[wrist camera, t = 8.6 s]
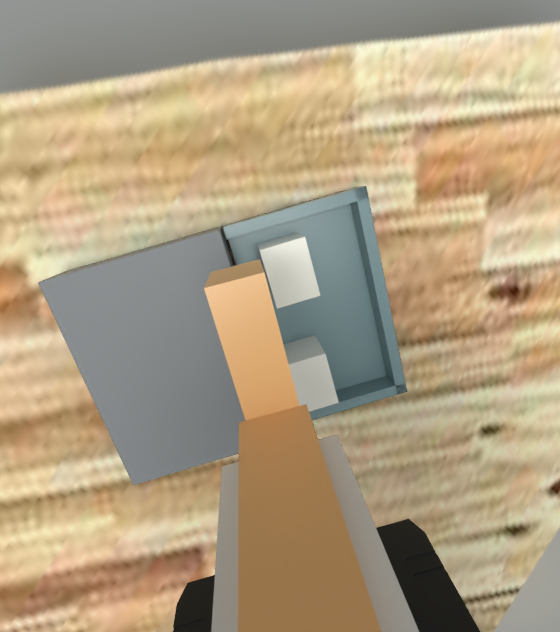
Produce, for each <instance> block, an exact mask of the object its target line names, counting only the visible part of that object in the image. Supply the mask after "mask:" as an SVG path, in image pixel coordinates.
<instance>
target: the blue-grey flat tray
mask: <svg viewBox="0 0 560 632" xmlns="http://www.w3.org/2000/svg"><path fill="white" fill-rule="evenodd" d="M223 229H224V233H225V236H226V239H228V240H229V243H230V247H231V250H232V253H233V256H234V259H235V263H236V265H240V264H243V263H247V262H251V261H255V260H259V259H260V261H261V264H262V267H263V270H264V273H265V277H266V280H267V284H268V288H269V292H270V295H271V299H272V303H273V307H274V311H275V314H276V318H277V322H278V326H279V330H280V333H281V337H282V341H283V344H286V343H290V342H293V341H296V340H300V339H303V338H306V337H309V336H313V335H315V336H316V338H317V339H318V341H319V343H320V345H321V346H322V348H323V350H324V352H325V354H326V357H327V361H328V365H329V368H330V372H331V376H332V379H333V383H334V387H335V391H336V394H337V398H338V402H339V403H336V404H333V405H329V406H326V407H323V408H320V409H316V410H313V411H310V412H309V414H310V417H311V420H313V419H317V418H320V417H324V416H327V415H330V414H334V413H337V412H340V411H344V410H347V409H350V408H354V407H357V406H360V405H364V404H367V403H370V402H374V401H377V400H380V399H384V398H387V397H390V396H394V395H397V394H400V393H404V392H407V389H406V384H405V379H404V374H403V369H402V364H401V359H400V354H399V349H398V344H397V339H396V334H395V329H394V324H393V319H392V314H391V309H390V304H389V299H388V294H387V289H386V284H385V279H384V274H383V268H382V263H381V258H380V253H379V248H378V243H377V238H376V233H375V228H374V223H373V218H372V213H371V208H370V203H369V198H368V193H367V188H366V186H363V187H355V188H352V189H348V190H345V191H341V192H338V193H334V194H331V195H328V196H324V197H321V198H317V199H314V200H310V201H307V202H303V203H300V204H297V205H293V206H290V207H286V208H283V209H279V210H276V211H272V212H269V213H265V214H262V215H259V216H255V217H252V218H248V219H245V220H241V221H238V222H234V223H231V224H228V225H224V227H223ZM295 232H297V233H299V234H301V235H303V236H305V238H306V242H307V246H308V250H309V254H310V258H311V261H312V265H313V269H314V273H315V277H316V280H317V284H318V288H319V292H320V296H317V297H314V298H311V299H307V300H304V301H301V302H298V303H294V304H291V305H288V306H284V307H281V308H278V309H277V307H276V304H275V301H274V298H273V295H272V292H271V289H270V286H269V282H268V279H267V276H266V272H265V269H264V266H263V262H262V259H261V256H260V252H259V249H258V246H257V244H258V243H261V242H265V241H268V240H271V239H275V238H278V237H281V236H285V235H288V234H291V233H295Z"/></svg>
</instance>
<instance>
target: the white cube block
mask: <svg viewBox="0 0 560 632" xmlns="http://www.w3.org/2000/svg"><path fill="white" fill-rule="evenodd" d="M283 345H284V349H285V352H286V356H287V360H288V364H289V368H290V371H291V375H292V379H293V383H294V387H295V390H296V394H297V398H298V402H299V406H301V405H305V404H306V405H307V408H308V411H309V412H310V411H313V410H316V409H320V408H323V407H326V406H329V405H333V404H336V403H339V402H338V398H337V394H336V391H335V387H334V383H333V379H332V376H331V372H330V368H329V365H328V361H327V357H326V354H325V352H324V350H323V348H322V346H321V345H320V343H319V341H318V339H317V338H316V336H315V335H313V336H309V337H306V338H303V339H300V340H296V341H293V342H290V343H286V344H283Z"/></svg>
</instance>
